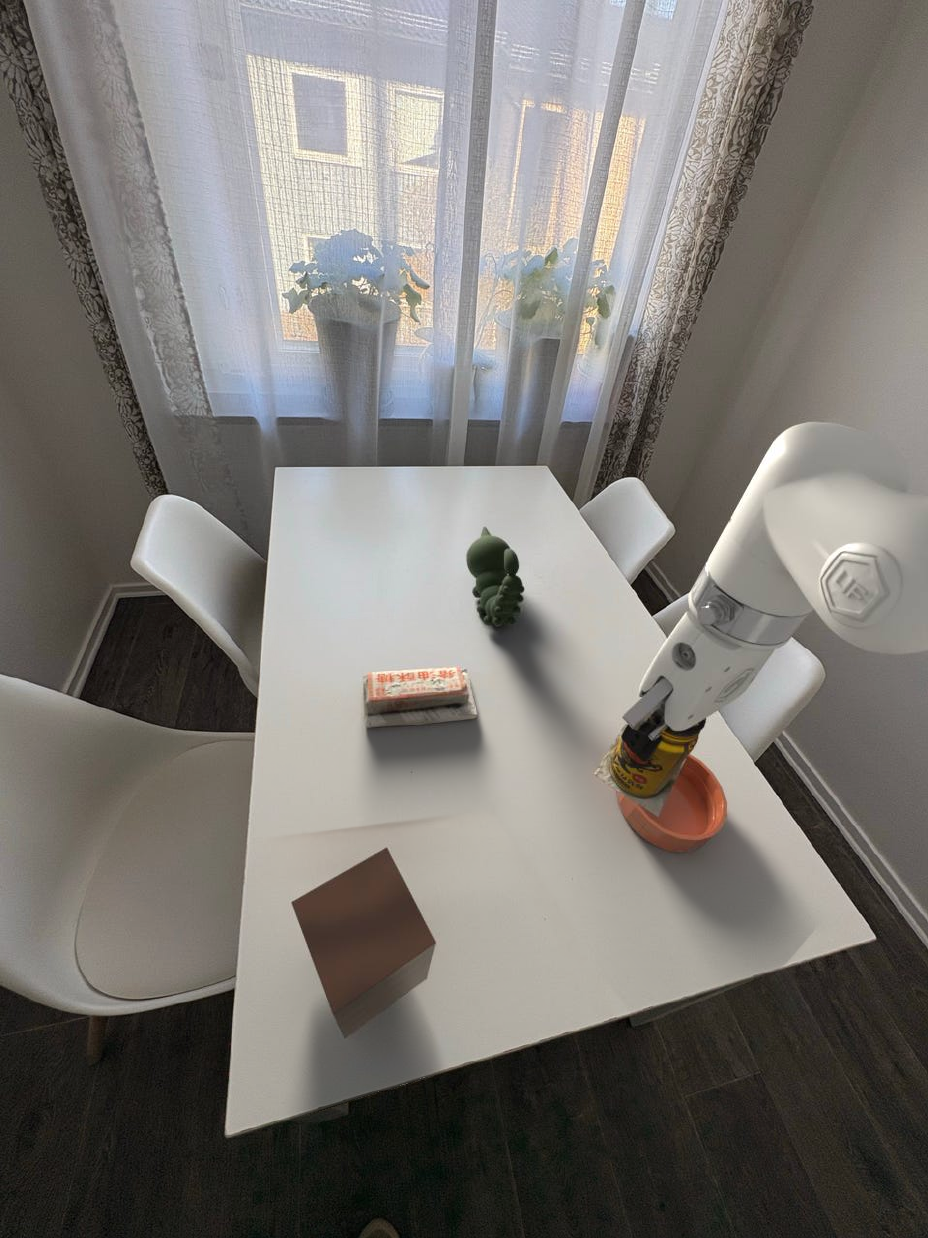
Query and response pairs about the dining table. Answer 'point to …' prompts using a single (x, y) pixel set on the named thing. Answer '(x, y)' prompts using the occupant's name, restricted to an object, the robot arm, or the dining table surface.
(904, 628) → the robot arm
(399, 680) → the packaged product
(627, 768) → the condiment
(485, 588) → the toy figurine
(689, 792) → the dish
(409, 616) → the dining table surface
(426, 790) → the dining table surface
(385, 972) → the stand
